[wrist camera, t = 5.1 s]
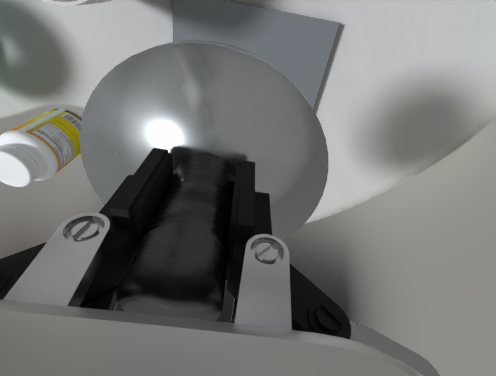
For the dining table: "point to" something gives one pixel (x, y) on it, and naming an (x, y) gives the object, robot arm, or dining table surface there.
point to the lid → (200, 162)
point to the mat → (262, 36)
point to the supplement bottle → (39, 147)
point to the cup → (73, 2)
